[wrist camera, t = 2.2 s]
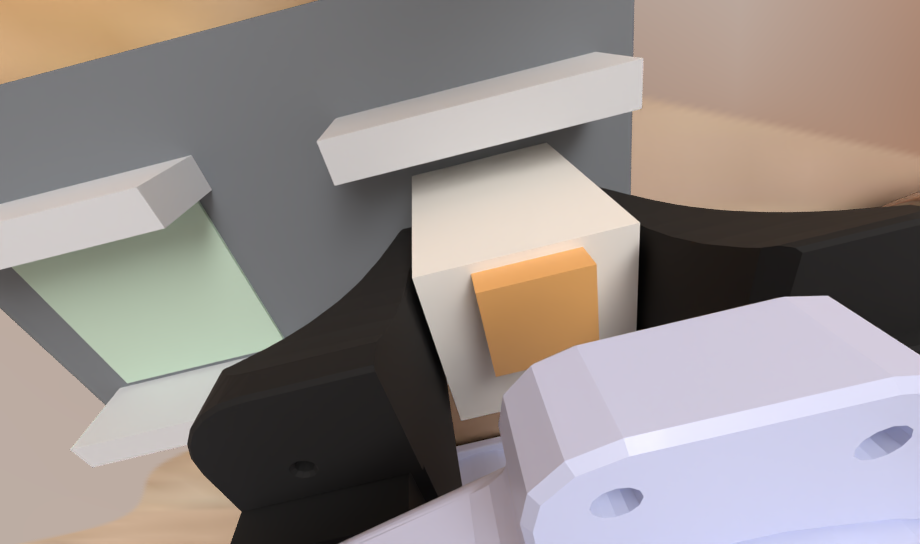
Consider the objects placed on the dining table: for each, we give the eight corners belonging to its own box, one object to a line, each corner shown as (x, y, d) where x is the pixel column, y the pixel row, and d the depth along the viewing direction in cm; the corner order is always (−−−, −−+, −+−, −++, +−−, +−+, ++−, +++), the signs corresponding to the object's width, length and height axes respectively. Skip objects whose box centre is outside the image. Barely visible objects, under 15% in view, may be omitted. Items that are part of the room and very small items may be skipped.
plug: (557, 258, 13) (648, 402, 8) (444, 286, 14) (464, 444, 8) (546, 142, 11) (658, 238, 6) (411, 175, 11) (411, 298, 6)
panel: (616, 321, 17) (661, 385, 14) (166, 428, 17) (115, 511, 14) (616, -74, 10) (706, -118, 7) (-140, 125, 10) (-362, 166, 7)
